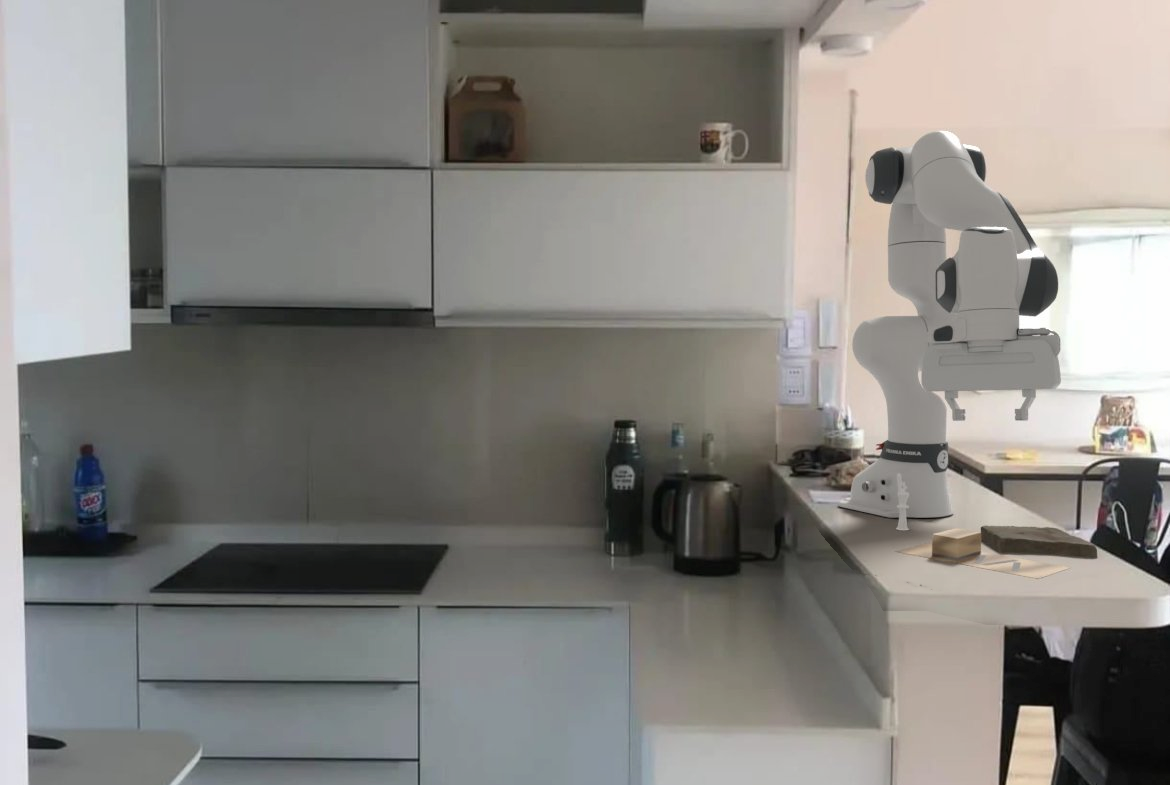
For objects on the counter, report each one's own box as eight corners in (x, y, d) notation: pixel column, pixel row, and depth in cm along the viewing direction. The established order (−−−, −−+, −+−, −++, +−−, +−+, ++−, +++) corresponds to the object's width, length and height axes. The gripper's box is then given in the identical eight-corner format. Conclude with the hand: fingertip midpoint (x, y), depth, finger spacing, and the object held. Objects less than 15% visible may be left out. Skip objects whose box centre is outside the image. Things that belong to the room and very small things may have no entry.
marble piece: (1100, 569, 172) (1100, 543, 172) (1005, 569, 173) (1005, 543, 172) (1059, 545, 189) (1060, 521, 188) (973, 545, 189) (973, 521, 189)
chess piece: (905, 534, 197) (906, 479, 197) (922, 539, 193) (923, 483, 192) (882, 536, 196) (883, 481, 195) (899, 541, 191) (900, 485, 190)
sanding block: (932, 556, 174) (932, 534, 173) (955, 549, 178) (956, 528, 178) (957, 560, 170) (957, 538, 170) (980, 554, 175) (981, 532, 174)
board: (894, 560, 177) (894, 551, 177) (928, 551, 184) (929, 542, 183) (1038, 588, 159) (1038, 578, 159) (1070, 577, 165) (1070, 567, 165)
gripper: (1065, 328, 164) (1067, 420, 164) (931, 334, 177) (932, 420, 176) (1054, 325, 159) (1055, 420, 159) (916, 332, 172) (917, 420, 171)
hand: (989, 420), depth 168 cm, fingers open, 8 cm apart
